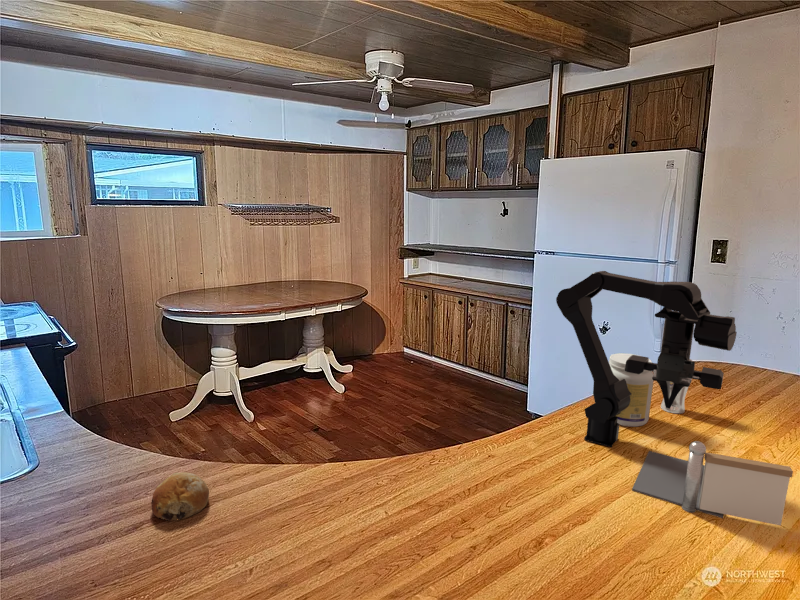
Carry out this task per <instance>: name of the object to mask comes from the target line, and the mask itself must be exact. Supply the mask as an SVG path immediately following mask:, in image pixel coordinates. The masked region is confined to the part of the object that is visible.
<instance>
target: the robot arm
mask: <svg viewBox="0 0 800 600" xmlns="http://www.w3.org/2000/svg"><path fill="white" fill-rule="evenodd" d="M602 291H609V292H614V293H617V294H622V295H627V296H631V297H632V296H633V297H636V298H642V299H645V300H649V301H650V302H651V301H652V302H654V303H655V304H657V305H658V306H661V307H662V309H661V310H659V311H658V312H656V313H655V314H654V317H656V318H660V319H664V322H663V330H662V331H663V332H662V338H661V339H662V340H661V345H660V346H661V347H660V354H659V355H658V357H657V362H652V363H651V362H649V359H650V358H649V357H648V356H643V355H639V356H637V355H638V354H634V355H632V356H630V357H629V358H628V360H627V361H626V364H625V371H626V372H630V373H635V374H640V373H642V372H643V371H644V370H648V371H652V373H653V377H652V380H654V381H655V382H657V384H658V385H659V387H660V390H661V393H662V397H663V398H664V402H665V406H666V408H669V409H670V407H671V405H672V404H673V402H674V400H675V398H676V396H677V394H678V393H679V392H680V390H681V389H682V388H683V387H688V388H689V387H690V386H691V384H692V380H696V381H699V383H700V384H701V386H702V387H703V388H708V389H712V390H721V389H722V387H723V381H724V372H723V371H722V369H718V368H717V369H716V368H711V367H706V366H702V370H695V367H696V366H695V365H696V363H695V361H693V360H692V361H689V360H690V359H691V353H692V352H691V351H692V345H693V339H694V342H697V344H698V345H699V346H704V347H709V348H713V349H718V350H723V351H729V352H730V351H732V349H733V347H734V346H735V342H736V338H737V327H736V323H735V321H736V317H734V316H723V315H722V316H721V315H715V314H711V312H710V310H709V308H708V306H707V305H706V303H705V302H704V301H703V298H702V291H701V289H700V288H699V286H698V285H697V284H696V283H693V282H691V281H655V280H654V281H653V280H649V279H644V278H638V277H633V276H628V275H623V274H617V273H611V272H608V271H606V270H599V271H595V272H593V273H591V274H590V275H589V276H587V277H586V278H584V279H583V280H581V281H579V282H577V283H576V284H574V285H572V286H571V287H568V288H563V289H561V290H560V291H559V292H558V293H557V296H556V298H555V301H556V302H555V303H556V305H557V307H558V309H559V311H560V313H561V314H562V316H563V318H565V319H566V320H567V321H568V322H569V323H570V324H571V325H572V327H573V330H574V332H575V334H576V337H577V340H578V343H579V346H580V348H581V351H582V354H583V355H584V358H585V361H586V364H587V367H588V369H589V372H590V374H591V376H592V380H593V388H592V396H593V400H594V403H592V404H591V405H589V406H588V407H585V408H584V414H585V418H587V426H586V427H587V428H586V434H585V436H584V438H583V441H587V442H590V443H594V444H597V445H601V446H605V447H609V448H612V447H613V445H614V444H615V443H616V442H617V441H618V440H619V433H620V426H621V425H620V424H619V423H617V420H618V417H617V416H616V415H618V414H620V413H621V411H623V410H625V409H626V408H627V407H628V406H629V404H630V395H631V392H630V391H629V390H628V387H627V383H626V380H625V379H622V380H619V379H618V378H617V377H616V376H615V375H614V374H613V372H612V370H611V367H610V364H609V359H608V357H607V354H606V352H605V349H604V347H603V345H602V342H601V339H600V336H599V333H598V332H597V328H596V327H595V323H594V321H593V302H592V298H594V297H596V296H598V294H599V293H600V292H602ZM670 382H673V383H674V385H673V389H672V392H671V396H670ZM663 398H662V399H663Z"/></svg>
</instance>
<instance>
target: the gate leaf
mask: <svg viewBox="0 0 800 600" xmlns="http://www.w3.org/2000/svg"><path fill="white" fill-rule="evenodd" d="M703 460H704V461H705V462H704V465H705V467H704V474H703V480H702V487H701V494H700V500H699V508H700V509H702V510H707V511H712V512H717V513H722V514H724V515H725V516H726V515H728V516H732V517H737V518H742V519H747V520H750V521H751V520H752V521H756V522H762V523H766V524H770V525H776V526H782V522H783V517H784V512H785V511H784V510H785V505H786V500H787V495H788V489H789V483H790V479H791V478H793V474H794V470H793V469H792V467H791V466H788V465H783V464H778V463H771V462H765V461H764V462H763V461H759V460H753V459H747V458H741V457H737V456H736V457H735V456H732V455H731V456H729V455H723V454H719V453H712V452H708V451H706V453H705V454H704V459H703Z"/></svg>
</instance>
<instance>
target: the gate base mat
mask: <svg viewBox="0 0 800 600" xmlns="http://www.w3.org/2000/svg"><path fill="white" fill-rule="evenodd" d="M642 463H643V464H642V465H641V468H640V470H639V473H638V474H637V477H636V479H635V481H634V484H633V486H632V489H631V491H632V492H637V493H639V494H641V495H646V496H648V497H652V498H655V499H659V500H662V501H665V502H668V503H671V504H675V505H678V506H681V507H682V501H683V494H684V487H685V480H686V473H687V466H688V460H686V459H681V458H678V457H674V456H670V455H667V454H663V453H658V452H656V451H652V450H648V452H647V455H646V457H645V459H644V462H642ZM704 467H705V464H703V466H702V473H701V479H700V486H699V493H698V499H697V506H696V511H697V512H701V513H704V514H707V515H711V516H714V517H717V518H720V519H724V516H725V514H722V513H717V512H712V511H707V510H702V509H700V508H699V500H700V494H701V487H702V480H703V474H704Z"/></svg>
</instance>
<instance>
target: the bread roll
mask: <svg viewBox="0 0 800 600" xmlns="http://www.w3.org/2000/svg"><path fill="white" fill-rule="evenodd" d="M209 498H210V489H209V487H208V485H207V483H206V482H205V480H204V479H202V477H200V476H199V475H197V474H194V473H192V472H186V471H184V472H183V471H181V472H173V473H172V474H171V475H170V476H168V477H167V478H165V479H164V480H163V481H162V482H161V483H159V485H157V486H156V487H155V490H154V492H153V493H152V498H151V501H150V502H151V511H152V513H153V515H154V516H155V517H156V518H158V519H159V518H161V519H160V520H164V519H166V520H165V521H167V520H168V521H170V520H176V521H179V519H181V520H183V519H187V518H190V517H192V516H193V515H196V514H198V513H200V512H201V511H202V510H203V509H204V508H205V507H206V506H207V504H208V502H209ZM195 513H196V514H195ZM186 517H187V518H186ZM182 518H183V519H182ZM177 519H178V520H177Z"/></svg>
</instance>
